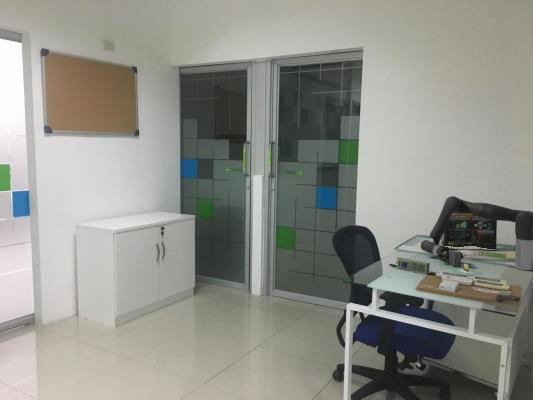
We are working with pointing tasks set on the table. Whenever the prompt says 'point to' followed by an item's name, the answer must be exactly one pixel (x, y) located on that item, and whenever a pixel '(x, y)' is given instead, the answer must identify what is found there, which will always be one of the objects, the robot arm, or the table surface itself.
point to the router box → (470, 231)
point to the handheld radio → (412, 265)
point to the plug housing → (454, 258)
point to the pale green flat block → (461, 269)
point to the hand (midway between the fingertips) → (455, 257)
